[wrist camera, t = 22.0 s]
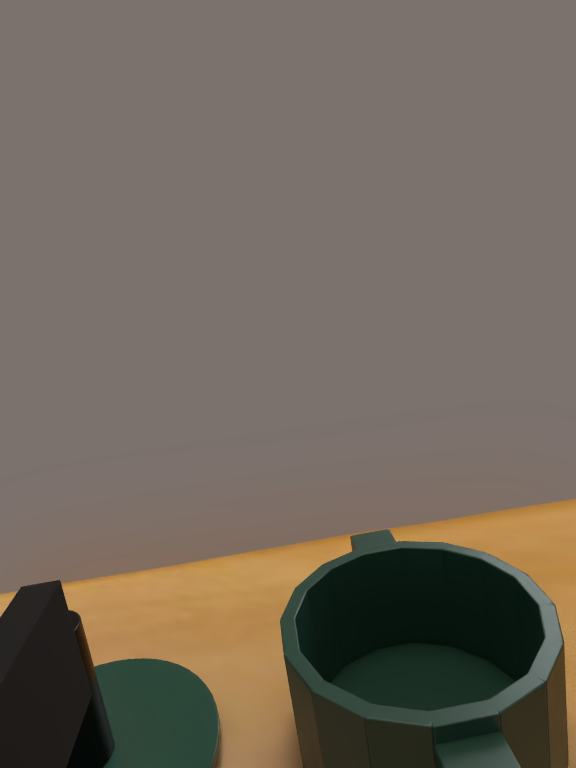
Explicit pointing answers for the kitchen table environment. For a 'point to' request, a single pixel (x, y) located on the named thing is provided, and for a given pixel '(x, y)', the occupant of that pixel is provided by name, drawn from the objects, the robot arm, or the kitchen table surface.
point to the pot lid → (144, 715)
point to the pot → (424, 661)
